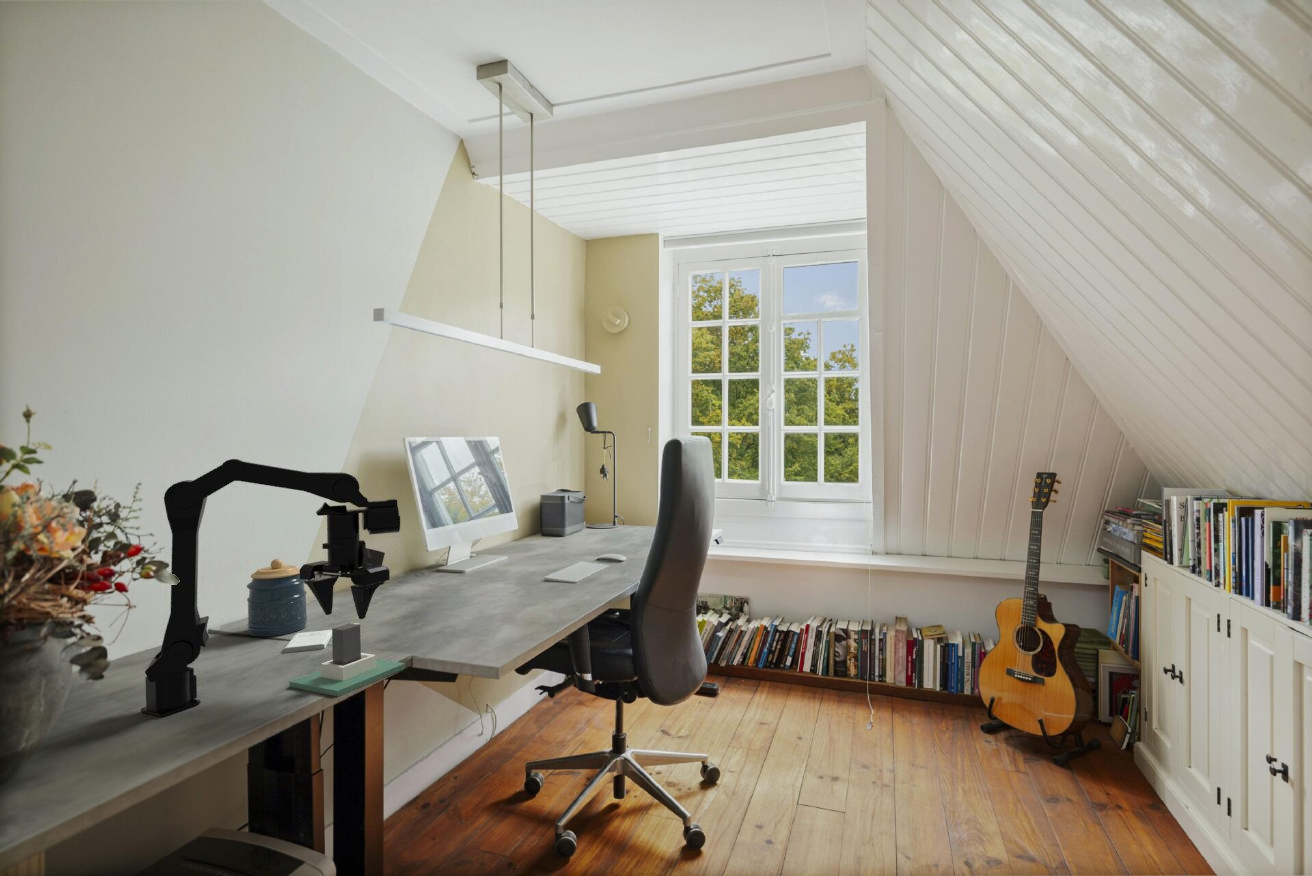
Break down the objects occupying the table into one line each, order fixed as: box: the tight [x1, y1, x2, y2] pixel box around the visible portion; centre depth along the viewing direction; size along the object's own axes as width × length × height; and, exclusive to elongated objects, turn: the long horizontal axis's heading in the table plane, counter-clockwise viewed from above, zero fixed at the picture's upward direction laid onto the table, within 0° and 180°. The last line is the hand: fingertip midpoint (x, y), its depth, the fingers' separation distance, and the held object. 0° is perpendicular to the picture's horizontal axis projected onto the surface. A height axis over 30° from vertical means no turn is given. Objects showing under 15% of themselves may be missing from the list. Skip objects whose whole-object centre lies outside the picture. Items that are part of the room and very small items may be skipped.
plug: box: [331, 622, 362, 666], centre depth 132 cm, size 5×3×9 cm, turn 155°
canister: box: [246, 558, 308, 637], centre depth 168 cm, size 13×13×18 cm
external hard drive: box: [283, 629, 332, 654], centre depth 156 cm, size 2×8×12 cm
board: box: [289, 652, 406, 697], centre depth 132 cm, size 16×13×4 cm
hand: (345, 616), depth 132 cm, fingers open, 9 cm apart
